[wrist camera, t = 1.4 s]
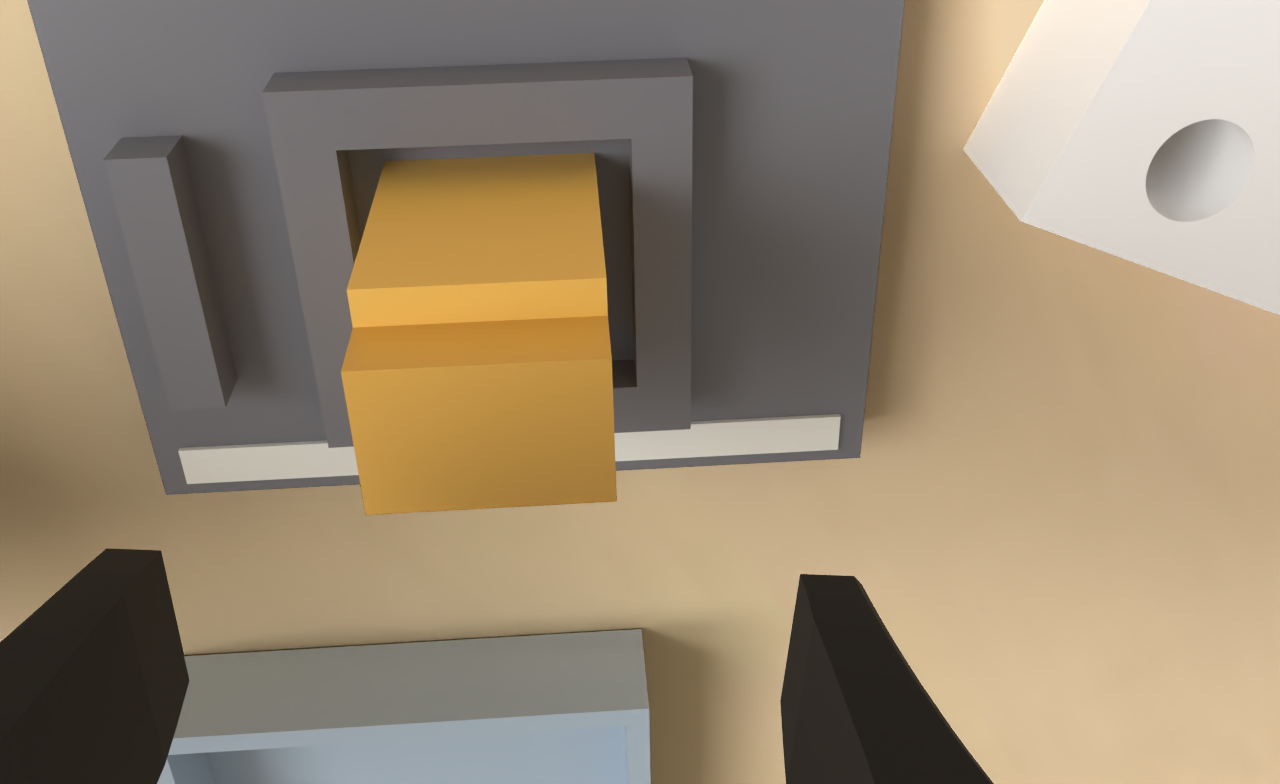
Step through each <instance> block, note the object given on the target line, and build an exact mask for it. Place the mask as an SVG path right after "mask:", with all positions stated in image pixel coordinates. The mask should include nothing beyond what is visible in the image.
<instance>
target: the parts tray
mask: <svg viewBox="0 0 1280 784" xmlns="http://www.w3.org/2000/svg"><path fill="white" fill-rule="evenodd" d="M184 658H185V662H186V667H187V671H188V676H189V684H188V688H187V691H186V695H185V699H184V702H183V706H182V710H181V713H180V717H179V720H178V724H177V727H176V731H175V734H174V737H173V741H172V744H171V747H170V750H169V754H168V757H167V760H166V763H165V766H164V768H163V771H162V773H161V775H160V778H159V780H158V783H157V784H651V776H650V721H649V701H648V690H647V680H646V670H645V660H644V650H643V639H642V629H631V630H614V631H598V632H581V633H564V634H547V635H530V636H514V637H497V638H480V639H463V640H447V641H430V642H413V643H396V644H380V645H363V646H346V647H329V648H312V649H296V650H279V651H262V652H245V653H229V654H212V655H195V656H184Z"/></svg>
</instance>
